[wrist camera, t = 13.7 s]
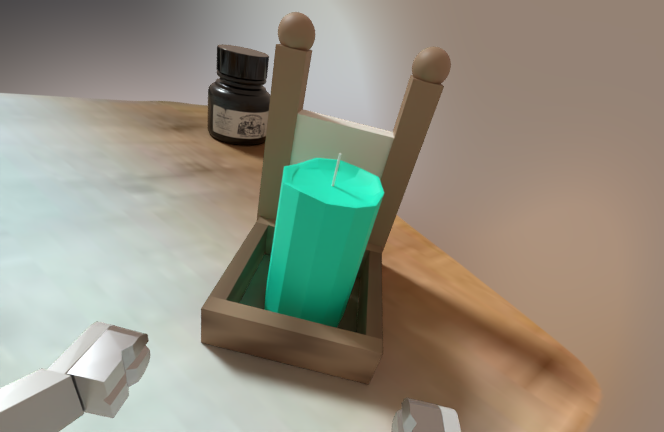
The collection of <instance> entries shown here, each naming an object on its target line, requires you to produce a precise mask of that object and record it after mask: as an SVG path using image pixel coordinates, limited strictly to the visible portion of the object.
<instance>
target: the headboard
mask: <svg viewBox="0 0 664 432" xmlns="http://www.w3.org/2000/svg"><path fill="white" fill-rule="evenodd" d="M278 37H279V41H280V43H281V44H276V50H275V59H274V68H273V78H272V87H271V95H270V104H269V114H268V123H267V132H266V141H265V150H264V159H263V168H262V177H261V187H260V196H259V205H258V214H257V220H258V219H259V217H260V216H262V217H266V218H270V219H274V220H276V217H277V210H278V203H279V197H280V190H281V183H282V176H283V169H284V166H289V165H294V164H298V163H301V162H304V161H307V160H311V159H314V158H326V159H336V160H338V156H339V153H341V159H340V160H342V161H344V162H347V163H349V164H352V165H354V166H357V167H359V168H362V169H364V170H366V171H368V172H370V173H372V174H374V175H376V176H378V177H379V179H380V182H381V185H382V188H383V191H384V195H383V198H382V201H381V204H380V207H379V210H378V213H377V216H376V219H375V222H374V225H373V228H372V231H371V234H370V237H369V240H368V243H370V244H374V245H378V246H381V247H382V252H383V250H384V247H385V244H386V241H387V239H388V236H389V233H390V231H391V228H392V225H393V223H394V220H395V217H396V214H397V211H398V209H399V206H400V203H401V201H402V198H403V195H404V193H405V190H406V187H407V185H408V182H409V179H410V176H411V174H412V171H413V168H414V166H415V163H416V160H417V158H418V155H419V152H420V150H421V147H422V144H423V142H424V139H425V136H426V133H427V131H428V128H429V125H430V123H431V120H432V117H433V114H434V112H435V109H436V106H437V104H438V101H439V98H440V95H441V93H442V90H443V87H444V86H443V85H442V84H441V83H442V82H443V81H444V80H445V79H446V78H447V76H448V74H449V72H450V67H451V63H450V58H449V56H448V54H447V53H446V52H445V51H444V50H443V49H441V48H439V47H429V48H426V49H424V50H422V51H421V52H420V53H419V54H418V55H417V56H416V58H415V60H414V62H413V66H412V74H413V75H411V76H410V79H409V82H408V85H407V88H406V92H405V95H404V98H403V101H402V104H401V108H400V111H399V114H398V117H397V120H396V124H395V127H394V130H393V132H390V131H387V130H382V129H379V128H375V127H371V126H367V125H362V124H358V123H354V122H351V121H347V120H343V119H339V118H334V117H331V116H327V115H323V114H319V113H315V112H311V111H307V110H303V104H304V97H305V91H306V85H307V79H308V73H309V67H310V60H311V54H312V50H309V49H310V48H311V47H312V45H313V43H314V40H315V29H314V26H313V24H312V22H311V20H310V19H309V18H308V17H307V16H306V15H304V14H302V13H299V12H292V13H289V14H287V15H286V16H285V17H283V19H282V20H281V22H280V24H279V27H278Z"/></svg>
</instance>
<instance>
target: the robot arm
mask: <svg viewBox="0 0 664 432" xmlns="http://www.w3.org/2000/svg"><path fill="white" fill-rule="evenodd" d="M148 341H149V340H148V335H147V334H145V333H141V332H137V331H133V330H129V329H125V328H121V327H117V326H115V325H111V324H106V323H102V322H98V321H97V322H95V323H93V324H92V325H90V326H89V327H88V328H87V329H86V330H85V331H84V332H83V333H82V334H81V335H80V336H79V337H78V338H77V339H76V340H75V341H74V342H73V343H72V344H71V345H70V346H69V347H68V348H67V349H66V350H65V351H64V352H63V353H62V354H61V355H60V356H59V357H58V358H57V359H56V361H55V362H54V363H53V364H52V365H51V366H50V367H49V368H48V369H43V368H41V369H39V370H37V371H35V372H33V373H31V374H29V375H27V376H24V377H22V378H20V379H18V380H16V381H14V382H12V383H10V384H8V385H6V386H4V387H2V388H0V432H59V431H60V430H62V429H63V428H65V427H66V426H67V425H69V424H70V423H72V422H73V421H75V420H76V419H77V418H79V417H80V416H82V415H83V414H84V412H86V413H91V414H96V415H100V416H105V417H110V418H114V417H115V415H116V414H117V412H118V411H119V409H120V408H121V406H122V405H123V404H124V402H125V401H126V399H127V398H128V396H129V387H130V386H132V385H133V384H135V383H137V382H138V381H139V380H140V378H141V377H142V375H143V374H144V372H145V370H146V368H147V366H148V363H149V360H150V350H149V349H148V348H147V346H146V344H147V342H148ZM391 432H461V428H460V423H459V418H458V414H457V412H456V411H455V410H454V409H452V408H448V407H443V406H439V405H437V404H432V403H428V402H423V401H419V400H414V399H410V398H405V399H404V400H403V402H402V409H401V410H398V411H397V412H396V414H395V416H394V419H393V423H392V431H391Z"/></svg>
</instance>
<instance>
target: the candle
mask: <svg viewBox="0 0 664 432" xmlns="http://www.w3.org/2000/svg"><path fill="white" fill-rule="evenodd" d="M340 159H341V153H339V156H338V160H336V159H326V158H314V159H311V160H307V161H304V162H301V163H298V164H294V165H289V166H284V169H283V176H282V183H281V190H280V197H279V203H278V210H277V217H276V224H275V231H274V238H273V244H272V251H271V258H270V265H269V272H268V278H267V285H266V292H265V304H264V310H268V311H272V312H276V313H280V314H284V315H288V316H292V317H296V318H300V319H304V320H307V321H311V322H315V323H319V324H323V325H327V326H331V327H335V328H337V326H338V325H339V323H340V321H341V319H342V317H343V315H344V312H345V309H346V306H347V303H348V300H349V297H350V294H351V291H352V288H353V285H354V282H355V279H356V276H357V273H358V270H359V267H360V264H361V261H362V258H363V255H364V252H365V249H366V246H367V243H368V240H369V237H370V234H371V231H372V228H373V225H374V222H375V219H376V216H377V213H378V210H379V207H380V204H381V201H382V198H383V195H384V191H383V188H382V185H381V182H380V179H379V177H378V176H376V175H374V174H372V173H370V172H368V171H366V170H364V169H362V168H359V167H357V166H354V165H352V164H349V163H347V162H344V161H342V160H340Z"/></svg>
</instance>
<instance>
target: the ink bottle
mask: <svg viewBox="0 0 664 432" xmlns="http://www.w3.org/2000/svg"><path fill="white" fill-rule="evenodd" d="M268 60H269V56H268V55H267V54H265V53H262V52H259V51H256V50H252V49H248V48H243V47H238V46H231V45H218V46H217V75H218V76H219V77H220V78H219V79H217V80H216V82H214V83H212V84H211V85H210V86H209V89H208V131H209V133H210V134H211V135H212V136H213V137H215V138H216V139H218V140H221V141H223V142H227V143H232V144H241V145H253V144H260V143H263V142H265V141H266V132H267V123H268V114H269V104H270V94H269V93H268V92H267V91H266V89H265V87H263V86H262V85H264V84H265V83H266V78H267V70H268Z"/></svg>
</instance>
